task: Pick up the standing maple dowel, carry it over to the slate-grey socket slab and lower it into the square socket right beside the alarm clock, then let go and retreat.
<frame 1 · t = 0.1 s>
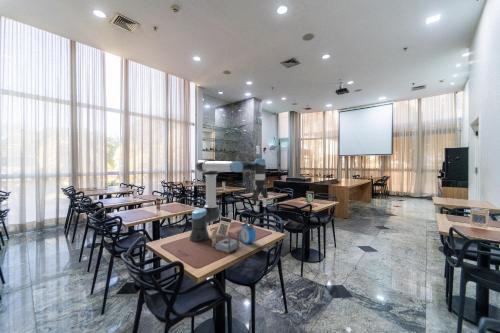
hand: (260, 208, 158), 28 cm above the table, fingers open, 13 cm apart
socket station: (227, 248, 154), on the table
alarm clock: (247, 243, 165), on the table
peg: (214, 246, 157), on the table
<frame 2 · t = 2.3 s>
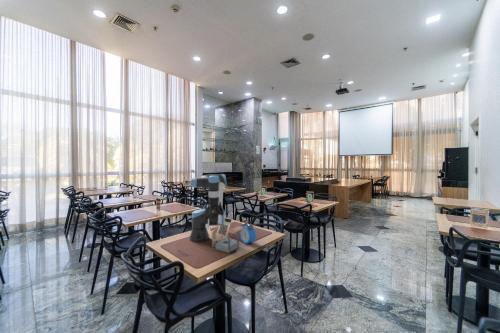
hand: (213, 225, 157), 15 cm above the table, fingers open, 13 cm apart
nothing on the table moved.
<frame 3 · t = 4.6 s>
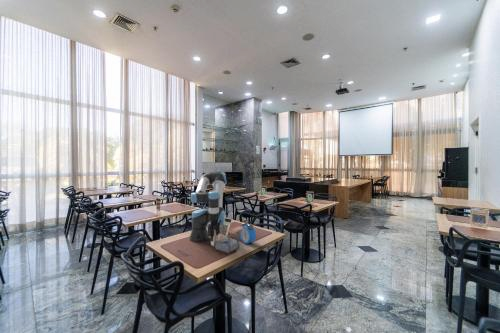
hand: (214, 244, 157), 2 cm above the table, fingers closed on peg, 2 cm apart
peg: (214, 246, 157), on the table, touching gripper
everything else where it was.
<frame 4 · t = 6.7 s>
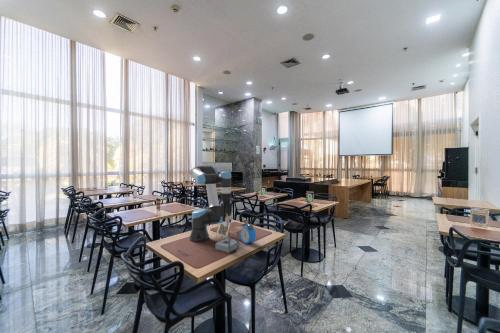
hand: (226, 225, 154), 16 cm above the table, fingers closed on peg, 2 cm apart
peg: (226, 230, 154), point 13 cm above the table, touching gripper
everything else where it was.
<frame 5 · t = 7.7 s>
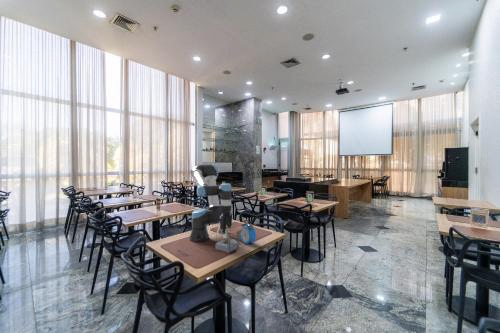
hand: (226, 237, 155), 8 cm above the table, fingers closed on peg, 2 cm apart
peg: (226, 242, 155), point 4 cm above the table, touching gripper
everything else where it was.
when the fingers open (5 cm above the table, at t = 8.7 s): peg drops 1 cm, resting in socket station.
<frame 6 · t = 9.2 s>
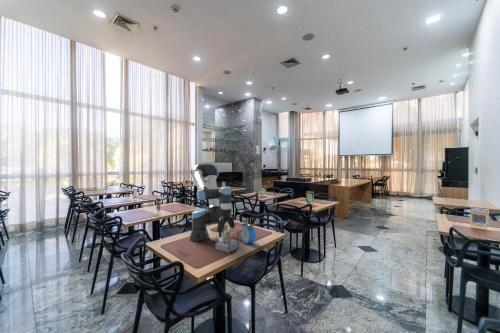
hand: (226, 238, 155), 6 cm above the table, fingers open, 10 cm apart
peg: (226, 247, 155), resting in socket station
everything else where it was.
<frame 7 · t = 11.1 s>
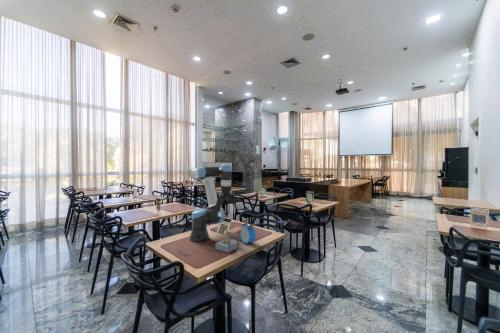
hand: (225, 214, 157), 24 cm above the table, fingers open, 13 cm apart
nothing on the table moved.
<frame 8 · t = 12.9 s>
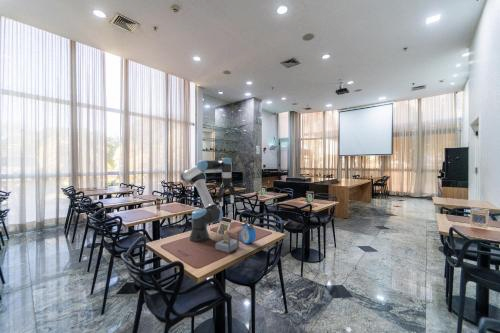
hand: (226, 204, 168), 29 cm above the table, fingers open, 13 cm apart
nothing on the table moved.
at the end: peg 0.1 cm from the target spot on the socket station, point 0.0 cm above the socket station's base; peg tilted 0°; the gripper is holding nothing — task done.
